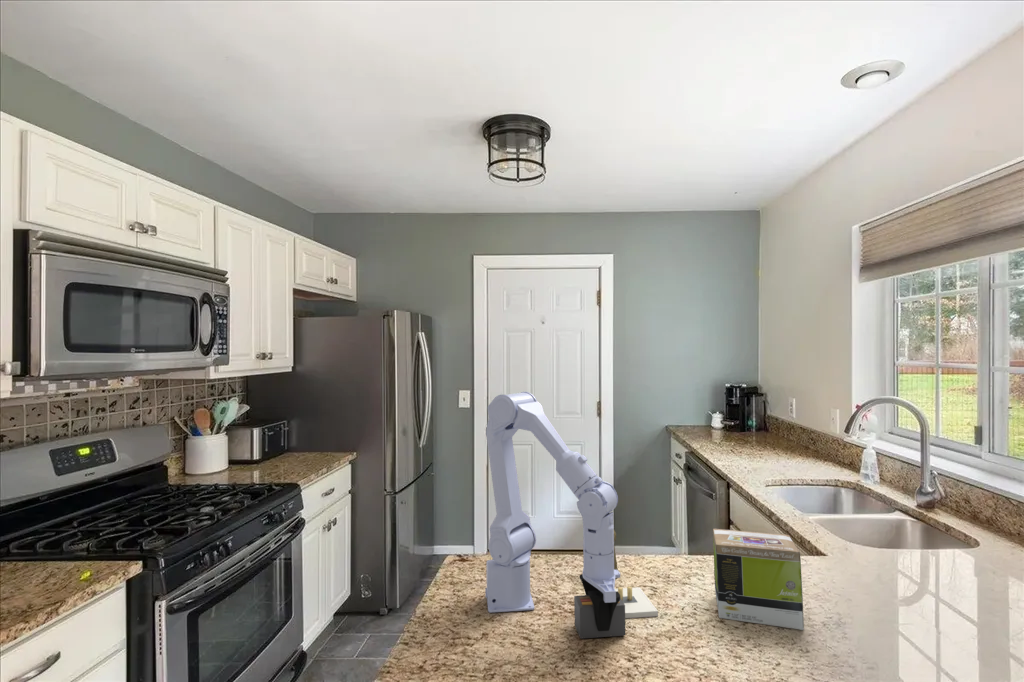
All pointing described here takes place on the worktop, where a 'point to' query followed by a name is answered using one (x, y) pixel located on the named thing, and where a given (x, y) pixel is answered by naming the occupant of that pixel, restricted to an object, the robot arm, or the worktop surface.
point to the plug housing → (587, 619)
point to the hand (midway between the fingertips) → (599, 622)
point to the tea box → (758, 578)
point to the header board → (636, 603)
